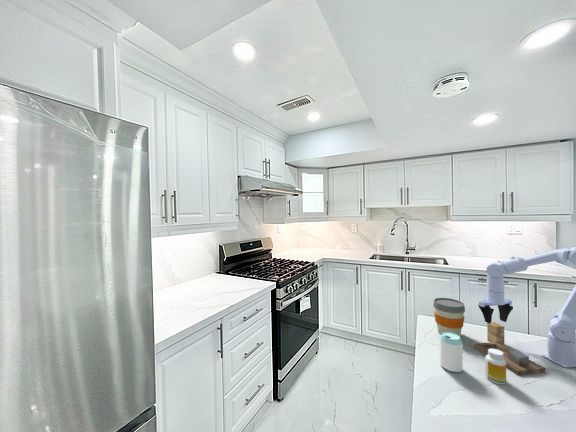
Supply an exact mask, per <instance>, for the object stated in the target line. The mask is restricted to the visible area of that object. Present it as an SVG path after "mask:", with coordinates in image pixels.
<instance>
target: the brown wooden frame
mask: <svg viewBox="0 0 576 432" xmlns="http://www.w3.org/2000/svg"><path fill="white" fill-rule="evenodd" d="M473 348H474V349H476V350H477V351H479V352H480V353H482V354H483V355H485V356H486V355H488V349H492V348H495V349H496V350H499V351H501V352H502V353H503V359H504V360H505V361H506V370H508V371H510V372H512V373H514V374H515V375H516V376H521V375H532V374H542V373H546V368H545V367H543V366H542V365H540V364H539V363H538V362H537V363H536V362H535V361H533V360H531V359H529V365H521V366H519V365H517V364H515V363H514V362H512V361H510V360H509V359H508V351H514V350H513V349H511V348H510V347H507V346H506V345H505V344H504V345H502V344H500V343H498V342H489V341H488V342H480V343H479V342H478V343H473Z"/></svg>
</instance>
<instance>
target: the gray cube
mask: <svg viewBox="0 0 576 432" xmlns="http://www.w3.org/2000/svg"><path fill="white" fill-rule="evenodd" d="M508 359H509V360H510V361H512V362H514V363H515V364H517V365H519V366H521V365H529V360H530V356H529V355H527V354H525V353H523V352H521V351H519V350H513V351H508Z"/></svg>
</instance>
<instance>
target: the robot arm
mask: <svg viewBox="0 0 576 432" xmlns="http://www.w3.org/2000/svg"><path fill="white" fill-rule="evenodd" d="M568 261H569V263H571V264H572V265H573V266H575V267H576V246H570V247H565V248H558V249H555V250H554V249H553V250H550V251H547V252H543V253H540V254H536V255H532V256H529V257H526V258H522V257H519V256H511V257H510V258H508V259H504V260H496V262H491V263H489V264H487V266H486V270H485V271H486V273H487V274H486V297H485V298H484V299H483V300H478V305H477V306H478V308H479V310H480V312H481V313H482V316H483V319H484V321H485V323H489V324H490V323H491V322H492V317H493V313H494V311H495V309H494V308H492V307H495V306H497V308H498V312H499V314H498V315H499V320H500V321H502V322H504V323H507V321H508V318H509V315H510V314H511V312H512V311H513V310H514V306H513V300H512V299H509V298H505V280H504V275H511V274H515V273H521V272H525V271H527V270H528V268H529V267H531V266H536V265H537V266H538V265H541V264H546V263H552V262H557V263H558V262H559V263H564V264H568ZM547 324H548V326H549V329H550V331H548V332H547V353H541V354H540V356H542V357H543V358H545V359H547V360H549V361H552V362H553V363H555V364H557V365H559V366H561V367H563V368H568V369H569V368H576V284H575V285H574V287H573V289H572V291H571V292H570V294H569V296H568V297H567V299H566V300H565V302H564V304H563V306H562V307H561V309H560V310H559V311H557V313H556V314H555V315H554V316H552V317H550V318H549V319H548V322H547Z"/></svg>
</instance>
